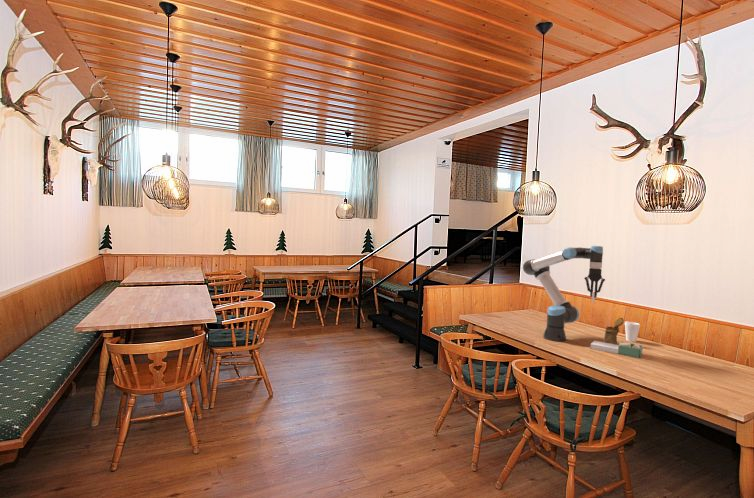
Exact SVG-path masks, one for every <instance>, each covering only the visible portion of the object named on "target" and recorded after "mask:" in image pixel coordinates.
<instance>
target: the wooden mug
mask: <svg viewBox="0 0 754 498" xmlns="http://www.w3.org/2000/svg"><path fill="white" fill-rule="evenodd" d="M624 322H625V321H624V318H623V317H620V318H618V319H616V320H615V322H614V326H613V327H612V326H606V328H605V330H604V331H605V332H604V336H603V337H604V338H603V341H602V342H605V343H610V344H615V345H618V339H617V338H618V337H617V336H618V335H619V331H620V329H619V327H621V326H622V325H623V324H624Z"/></svg>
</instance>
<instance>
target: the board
mask: <svg viewBox="0 0 754 498" xmlns="http://www.w3.org/2000/svg"><path fill="white" fill-rule="evenodd" d="M618 347H619V344H617V345H615V344H610V343H605V342H603V341H598V340H593V341H592V342H591V343H590V349H592V350H597V351H601V352H607V353H612V354H616V355H619V354H618Z"/></svg>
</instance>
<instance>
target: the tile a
mask: <svg viewBox="0 0 754 498" xmlns="http://www.w3.org/2000/svg"><path fill="white" fill-rule="evenodd" d="M631 344H632V343H631V342H625V343H621V342H619V343H618V345H620V346H626V347H631Z"/></svg>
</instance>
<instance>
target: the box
mask: <svg viewBox="0 0 754 498" xmlns="http://www.w3.org/2000/svg"><path fill="white" fill-rule="evenodd" d="M620 343H626V342H624V341H621V342H620ZM635 344H636V343H635ZM635 344H634V343H631V347H633V346H634V345H635ZM618 345H619V344H618ZM638 345H639V346H640V349H636V348H631V347H626V346H620V345H619V347H618V354H617V355H623V356H627V357H632V358H637V359H640V358H641V357H642V355H643V347H644V346H643V345H640V344H638Z"/></svg>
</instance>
